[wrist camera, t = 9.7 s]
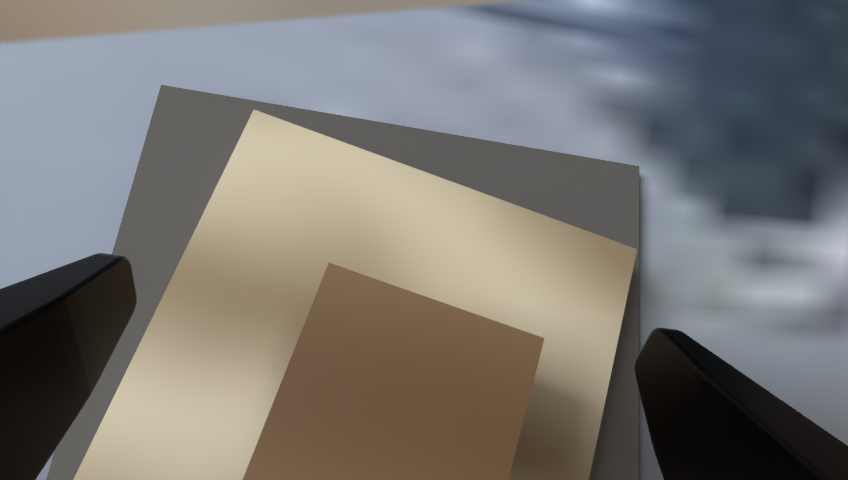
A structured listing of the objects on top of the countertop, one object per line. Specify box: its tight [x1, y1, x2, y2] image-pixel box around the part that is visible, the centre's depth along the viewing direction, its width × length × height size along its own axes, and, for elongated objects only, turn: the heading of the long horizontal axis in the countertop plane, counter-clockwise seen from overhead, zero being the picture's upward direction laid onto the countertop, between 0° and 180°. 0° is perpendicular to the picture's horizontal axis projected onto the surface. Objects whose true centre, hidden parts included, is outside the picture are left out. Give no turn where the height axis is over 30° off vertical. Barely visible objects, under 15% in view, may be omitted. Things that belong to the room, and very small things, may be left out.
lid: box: [73, 110, 637, 480], centre depth 10 cm, size 11×11×8 cm
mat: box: [47, 85, 639, 480], centre depth 14 cm, size 16×16×1 cm
